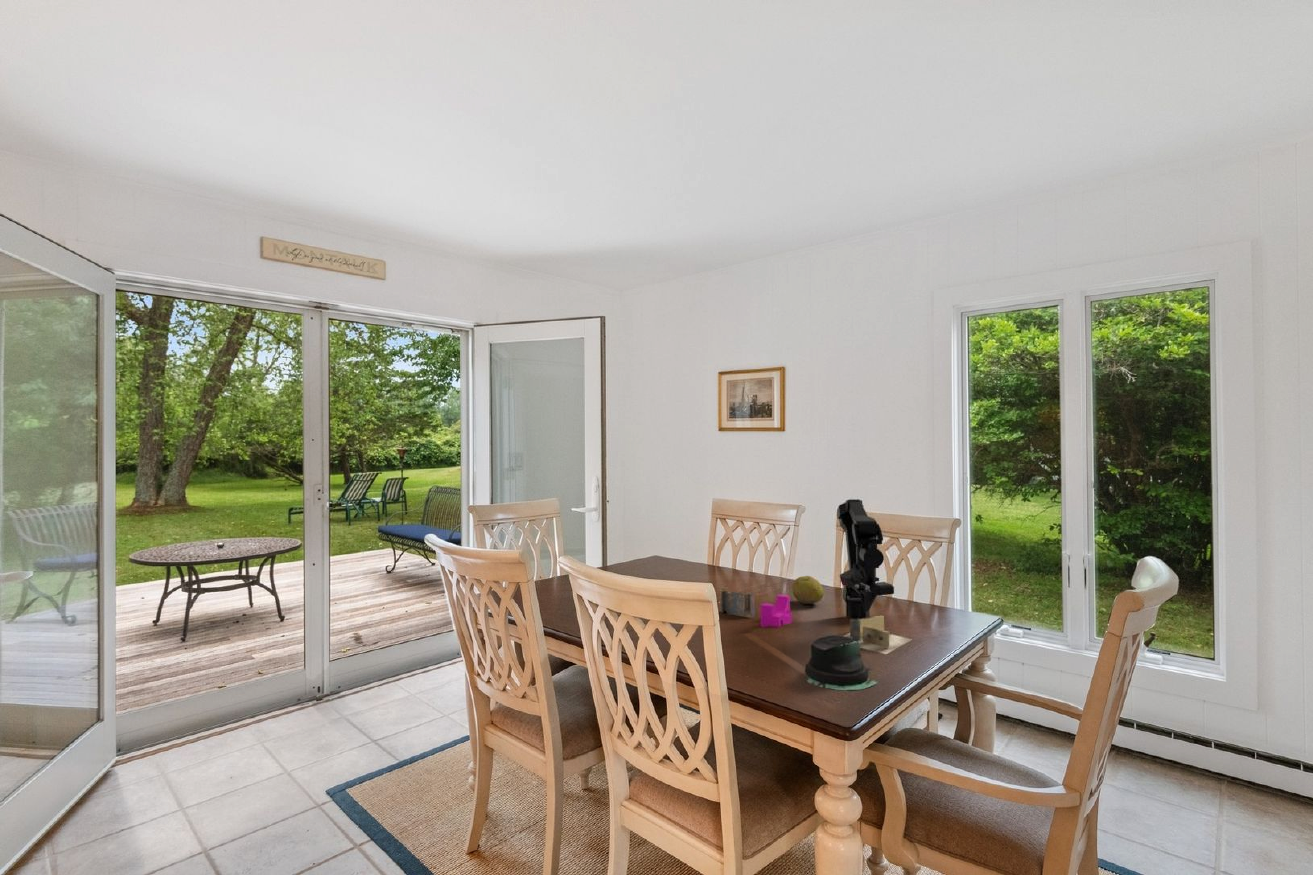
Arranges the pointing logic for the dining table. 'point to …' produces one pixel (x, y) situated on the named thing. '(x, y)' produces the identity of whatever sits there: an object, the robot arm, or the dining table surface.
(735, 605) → the ruin model on sheet
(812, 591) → the fruit
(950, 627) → the dining table surface
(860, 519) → the robot arm
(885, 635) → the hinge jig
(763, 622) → the toy block
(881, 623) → the brass leaf
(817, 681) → the dark green hat
